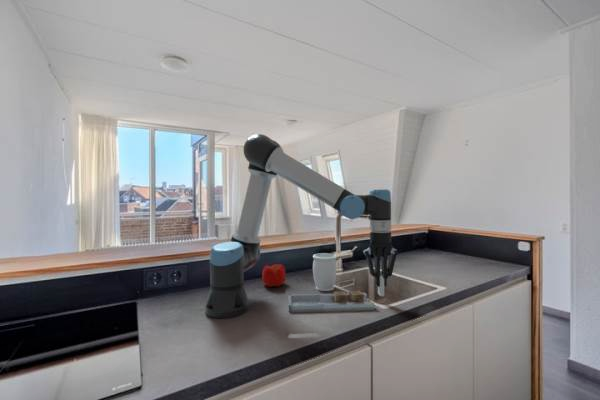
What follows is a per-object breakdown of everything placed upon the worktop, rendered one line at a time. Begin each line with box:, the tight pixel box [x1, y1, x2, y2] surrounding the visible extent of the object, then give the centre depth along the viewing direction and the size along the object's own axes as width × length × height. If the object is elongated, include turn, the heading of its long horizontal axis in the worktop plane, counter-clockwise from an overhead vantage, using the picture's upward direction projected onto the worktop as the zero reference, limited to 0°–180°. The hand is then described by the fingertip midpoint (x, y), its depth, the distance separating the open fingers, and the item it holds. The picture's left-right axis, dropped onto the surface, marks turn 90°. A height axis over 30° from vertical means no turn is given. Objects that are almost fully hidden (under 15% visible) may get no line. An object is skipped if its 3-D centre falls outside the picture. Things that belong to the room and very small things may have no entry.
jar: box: [312, 252, 338, 292], centre depth 120 cm, size 11×10×15 cm
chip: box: [333, 290, 347, 303], centre depth 102 cm, size 4×4×4 cm
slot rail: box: [287, 292, 376, 313], centre depth 102 cm, size 30×11×3 cm, turn 93°
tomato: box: [261, 263, 287, 288], centre depth 127 cm, size 11×12×9 cm
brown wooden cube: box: [348, 290, 364, 302], centre depth 103 cm, size 4×4×4 cm
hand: (381, 294), depth 103 cm, fingers closed
